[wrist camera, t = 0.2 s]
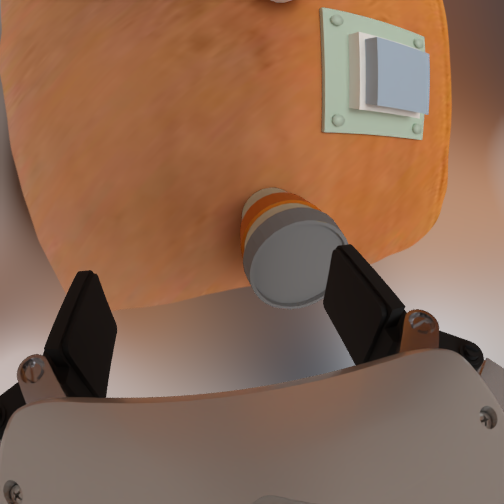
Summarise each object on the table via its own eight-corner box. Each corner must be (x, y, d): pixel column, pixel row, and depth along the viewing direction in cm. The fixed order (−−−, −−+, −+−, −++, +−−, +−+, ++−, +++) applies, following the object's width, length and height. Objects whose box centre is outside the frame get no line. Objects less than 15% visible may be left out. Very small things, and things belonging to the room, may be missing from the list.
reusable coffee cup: (320, 219, 46) (365, 270, 34) (259, 262, 48) (283, 325, 36) (281, 159, 40) (324, 194, 27) (213, 210, 42) (223, 266, 29)
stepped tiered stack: (319, 8, 28) (341, -4, 22) (420, 37, 31) (448, 35, 25) (321, 131, 38) (343, 139, 32) (418, 138, 41) (445, 148, 35)
